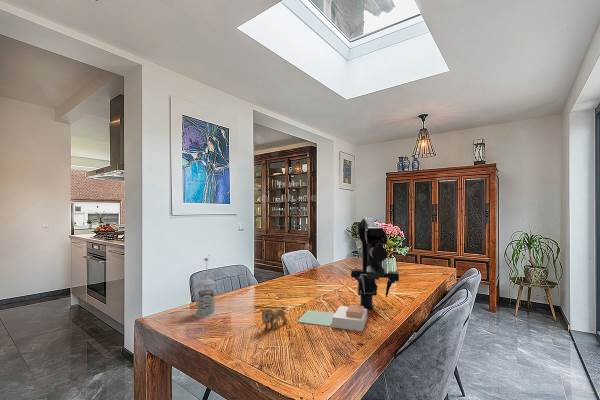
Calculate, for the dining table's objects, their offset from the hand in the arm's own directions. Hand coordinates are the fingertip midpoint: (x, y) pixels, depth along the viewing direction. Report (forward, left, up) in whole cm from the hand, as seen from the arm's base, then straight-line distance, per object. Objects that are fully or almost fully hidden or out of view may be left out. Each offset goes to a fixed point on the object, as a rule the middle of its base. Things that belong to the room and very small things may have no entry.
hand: (374, 296), depth 123 cm
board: (0, -10, -12) cm, 16 cm away
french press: (+12, -74, -12) cm, 76 cm away
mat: (0, -24, -12) cm, 27 cm away
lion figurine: (+15, -38, -12) cm, 43 cm away
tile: (0, -8, -8) cm, 11 cm away
